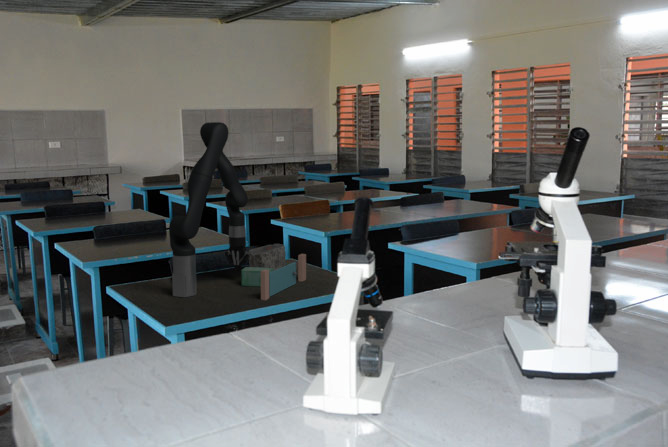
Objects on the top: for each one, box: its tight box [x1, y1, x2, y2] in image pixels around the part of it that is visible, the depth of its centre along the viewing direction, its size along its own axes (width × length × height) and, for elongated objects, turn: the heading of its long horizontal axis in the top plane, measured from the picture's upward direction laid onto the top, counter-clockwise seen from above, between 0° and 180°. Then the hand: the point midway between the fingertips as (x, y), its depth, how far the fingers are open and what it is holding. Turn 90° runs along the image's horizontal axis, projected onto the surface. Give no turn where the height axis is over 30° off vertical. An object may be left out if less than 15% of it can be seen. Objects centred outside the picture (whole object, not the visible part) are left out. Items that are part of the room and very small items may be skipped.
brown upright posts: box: [260, 253, 307, 301], centre depth 277 cm, size 38×2×12 cm, turn 157°
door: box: [269, 261, 298, 298], centre depth 274 cm, size 25×3×11 cm, turn 157°
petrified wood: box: [248, 243, 287, 271], centre depth 303 cm, size 19×17×15 cm
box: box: [240, 266, 274, 288], centre depth 285 cm, size 7×14×8 cm, turn 84°
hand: (238, 272), depth 290 cm, fingers closed
